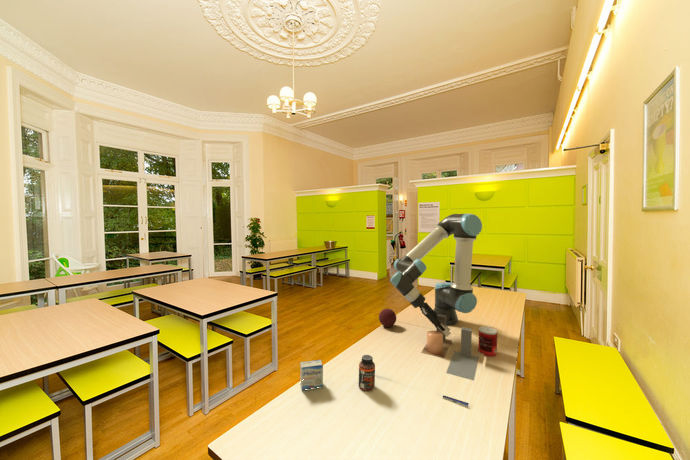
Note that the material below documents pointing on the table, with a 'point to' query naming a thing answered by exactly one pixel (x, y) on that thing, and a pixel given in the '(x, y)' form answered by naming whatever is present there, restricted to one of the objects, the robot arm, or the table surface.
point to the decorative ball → (387, 317)
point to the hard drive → (456, 401)
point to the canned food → (487, 341)
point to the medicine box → (311, 374)
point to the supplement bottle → (367, 373)
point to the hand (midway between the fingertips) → (448, 333)
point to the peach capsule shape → (435, 342)
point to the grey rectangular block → (464, 358)
